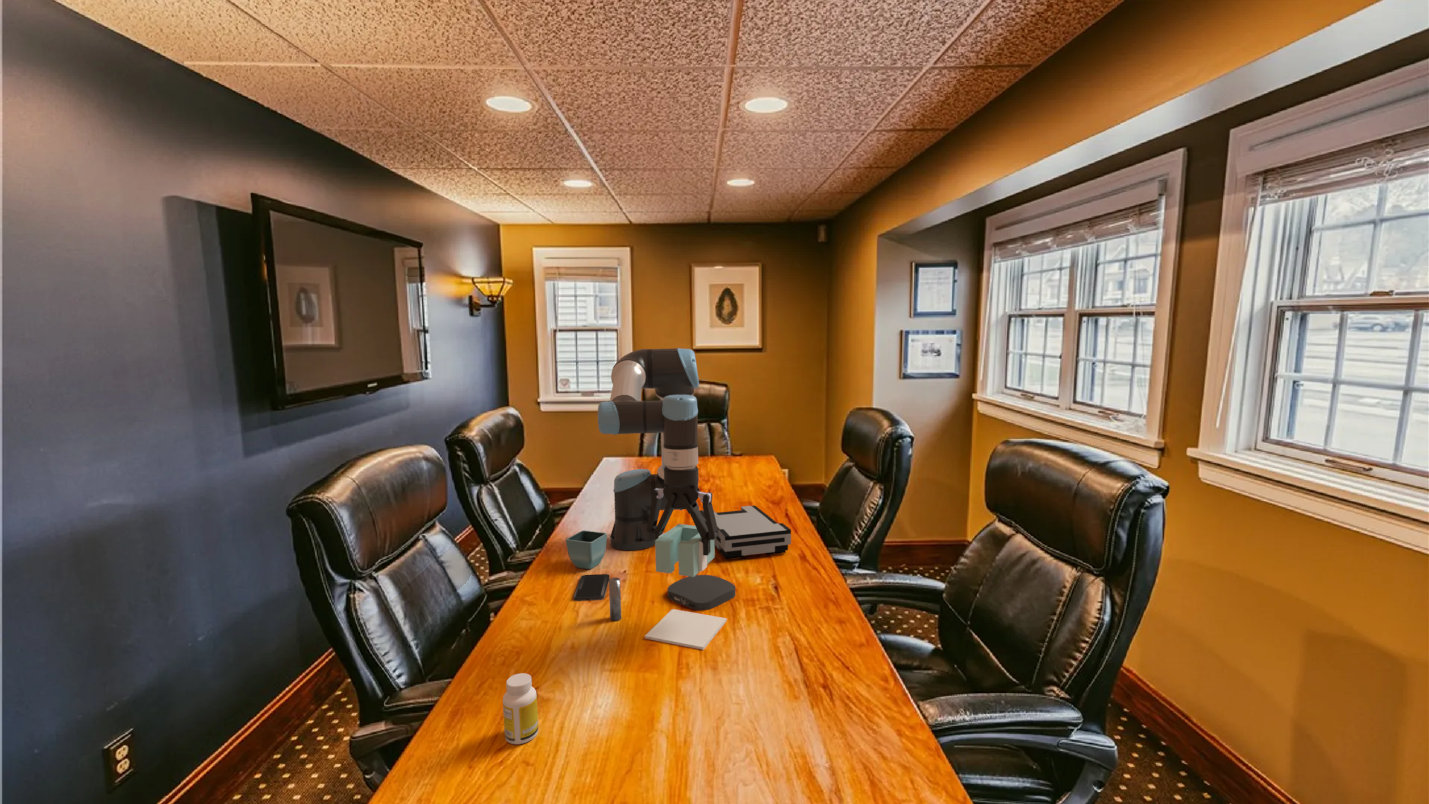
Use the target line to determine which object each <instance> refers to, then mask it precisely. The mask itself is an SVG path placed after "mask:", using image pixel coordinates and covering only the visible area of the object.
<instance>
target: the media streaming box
mask: <svg viewBox="0 0 1429 804" xmlns="http://www.w3.org/2000/svg"><path fill="white" fill-rule="evenodd" d="M735 597H736V586H735V584H734V583H733V582H731V581H729V580H726V579H724V578H721V577H720V576H716V575H711V574H697V575H695V576H694V577H690V576H684V577H683V578H681V579H678V580H677V581H675V582H673V583H671V584H670V585H668V587H667V598H668V599H669V600H671V601H672V602H675V603H677V604H680V605H681V606H683V607H687V608H689V609H692V610H694V611H708V610H711V609H713V608H716V607H718V606H720V605H722V604H724V603H726V602H728V601H729V600H731V599H734V598H735Z"/></svg>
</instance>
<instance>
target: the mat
mask: <svg viewBox="0 0 1429 804" xmlns="http://www.w3.org/2000/svg"><path fill="white" fill-rule="evenodd" d="M727 620H728V618H725V617H720V616H715V615H711V614H709V615H708V614H703V613H698V612H691V611H686V610H680V609H676V608H675V609H674V608H671V610H669V612H667V614H666V615H664V617H663V618H662V619H661V620H660V621H658V622H657V624H655V625H654V626H653V627H652V628H651V629H650V630H649V631H648V632H647V633H646V634H645V635H644V639H645V640H646V639H647V640H652V641H657V642H662V643H664V644H665V643H666V644H672V645H675V646H681V647H686V648H692V649H697V650H703V651H704V650H705V649H706V648H707V646H708V645H709V643H711V641H712V640H713V638H714V637H715V636H716V635H717V633H718V632H719V631H720V630H721V629H722V628H723V626H724V625H725V624H726V622H727Z"/></svg>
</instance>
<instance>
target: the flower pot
mask: <svg viewBox="0 0 1429 804" xmlns="http://www.w3.org/2000/svg"><path fill="white" fill-rule="evenodd" d="M607 538H608V533H606V532H599V531H591V530H581V531H579V532H577V533H575V534H573V535H572V536H569V537H567V538H566V539H565V543H566V548H567V553H568V556H569V559H570V562H572V564H573V565H574V567H575V568H579V569H586V570H592V569H593V568H594V567H596V566H598V565H600V564H601V562H602V560H603V558H604V556H605V554H606V548H607V541H608V540H607Z"/></svg>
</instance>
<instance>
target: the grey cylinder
mask: <svg viewBox="0 0 1429 804" xmlns="http://www.w3.org/2000/svg"><path fill="white" fill-rule="evenodd" d="M608 589H609V590H608V591H609V593H608V595H609V619H610V621H612V622H617V621H620V620H621V619H622V603H621V602H622V601H621V600H622V599H621V598H622V597H621V595H622V594H621V578H619V577H611V578H609V582H608Z"/></svg>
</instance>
